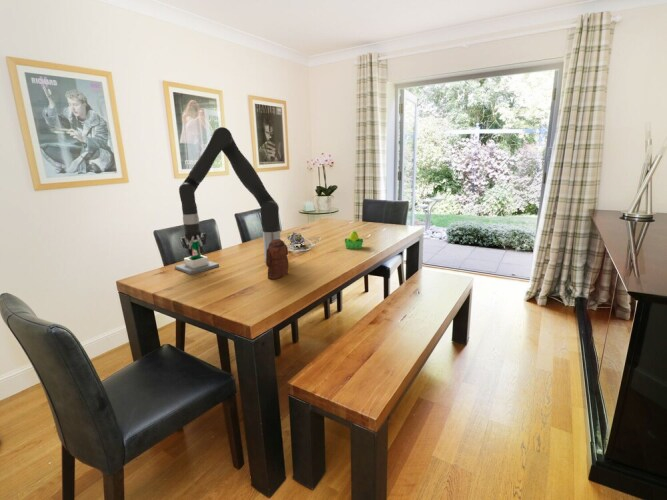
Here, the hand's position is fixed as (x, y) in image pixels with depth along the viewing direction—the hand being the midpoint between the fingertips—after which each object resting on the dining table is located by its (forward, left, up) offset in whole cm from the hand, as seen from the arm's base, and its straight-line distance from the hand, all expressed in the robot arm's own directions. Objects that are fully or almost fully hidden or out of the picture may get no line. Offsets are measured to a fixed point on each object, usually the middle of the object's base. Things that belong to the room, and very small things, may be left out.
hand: (195, 254), depth 183 cm
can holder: (0, 0, -7) cm, 7 cm away
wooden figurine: (-45, -16, -7) cm, 48 cm away
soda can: (0, 0, -4) cm, 4 cm away
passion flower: (-13, -61, -8) cm, 63 cm away
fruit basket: (-45, -79, -8) cm, 91 cm away
